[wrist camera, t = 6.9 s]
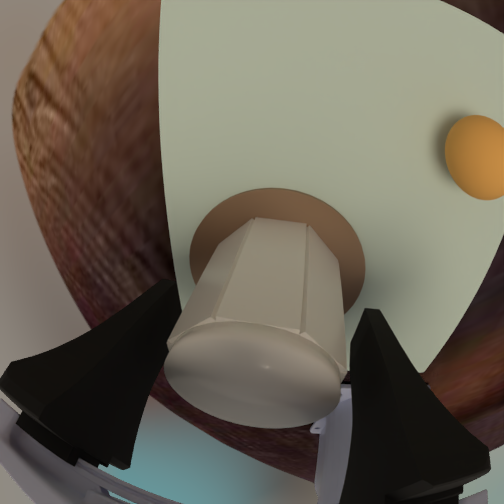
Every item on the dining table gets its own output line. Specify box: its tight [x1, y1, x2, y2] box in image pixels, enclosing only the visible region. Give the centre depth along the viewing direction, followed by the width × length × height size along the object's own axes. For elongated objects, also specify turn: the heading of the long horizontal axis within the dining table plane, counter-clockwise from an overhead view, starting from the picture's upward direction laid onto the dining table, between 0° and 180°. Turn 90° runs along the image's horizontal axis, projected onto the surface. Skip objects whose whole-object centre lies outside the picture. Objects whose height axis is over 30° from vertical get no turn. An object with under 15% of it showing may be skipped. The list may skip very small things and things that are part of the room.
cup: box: [164, 217, 347, 428], centre depth 10 cm, size 5×5×6 cm
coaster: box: [189, 188, 366, 314], centre depth 12 cm, size 8×8×1 cm
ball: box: [445, 115, 504, 200], centre depth 7 cm, size 3×3×3 cm
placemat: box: [159, 0, 504, 372], centre depth 11 cm, size 20×16×1 cm
